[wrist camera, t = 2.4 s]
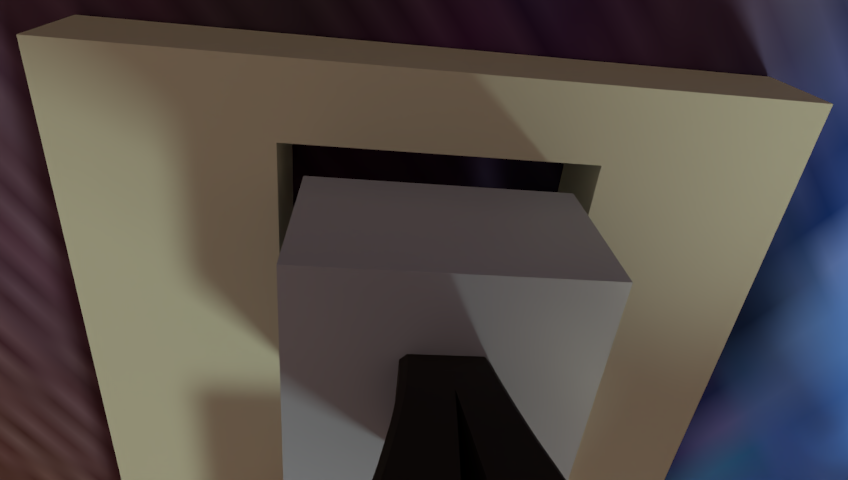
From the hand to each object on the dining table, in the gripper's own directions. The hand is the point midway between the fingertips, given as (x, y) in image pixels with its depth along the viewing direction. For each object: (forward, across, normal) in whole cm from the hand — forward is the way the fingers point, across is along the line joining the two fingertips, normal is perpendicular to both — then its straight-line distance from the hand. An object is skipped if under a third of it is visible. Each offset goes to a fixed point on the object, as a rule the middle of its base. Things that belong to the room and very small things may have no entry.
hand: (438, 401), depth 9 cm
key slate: (+3, 0, 0) cm, 3 cm away
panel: (+5, 0, +8) cm, 10 cm away
